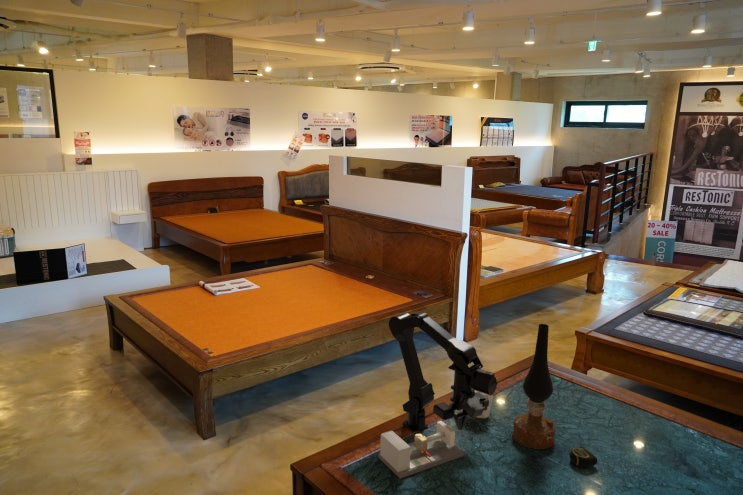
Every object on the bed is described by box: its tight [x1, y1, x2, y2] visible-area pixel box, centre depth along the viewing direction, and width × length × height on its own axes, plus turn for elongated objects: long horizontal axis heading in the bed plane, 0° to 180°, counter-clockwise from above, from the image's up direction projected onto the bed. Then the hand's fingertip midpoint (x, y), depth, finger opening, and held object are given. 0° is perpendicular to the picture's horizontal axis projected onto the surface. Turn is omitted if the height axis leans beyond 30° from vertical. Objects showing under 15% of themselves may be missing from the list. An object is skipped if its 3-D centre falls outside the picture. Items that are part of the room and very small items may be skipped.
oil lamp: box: [511, 323, 556, 450], centre depth 179 cm, size 14×15×40 cm
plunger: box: [424, 420, 456, 447], centre depth 171 cm, size 7×9×5 cm
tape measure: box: [569, 446, 598, 469], centre depth 168 cm, size 7×7×4 cm
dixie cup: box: [474, 390, 495, 419], centre depth 195 cm, size 8×8×10 cm
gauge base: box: [377, 430, 465, 479], centre depth 169 cm, size 12×24×8 cm, turn 121°
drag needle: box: [413, 433, 431, 457], centre depth 167 cm, size 7×2×4 cm, turn 31°
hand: (459, 429), depth 176 cm, fingers closed
